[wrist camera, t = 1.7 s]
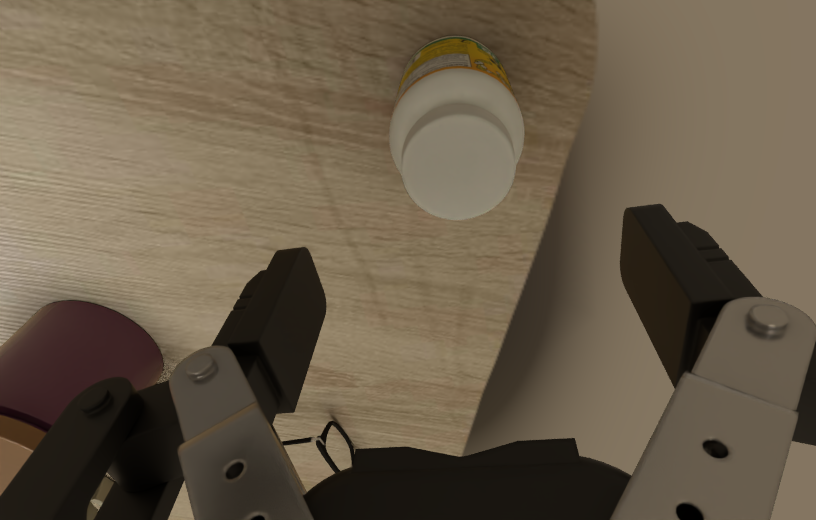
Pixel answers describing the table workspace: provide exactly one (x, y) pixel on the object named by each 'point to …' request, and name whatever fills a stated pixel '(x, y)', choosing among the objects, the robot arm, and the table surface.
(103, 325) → the jar
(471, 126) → the supplement bottle
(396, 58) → the table surface
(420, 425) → the table surface
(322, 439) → the eyeglasses
